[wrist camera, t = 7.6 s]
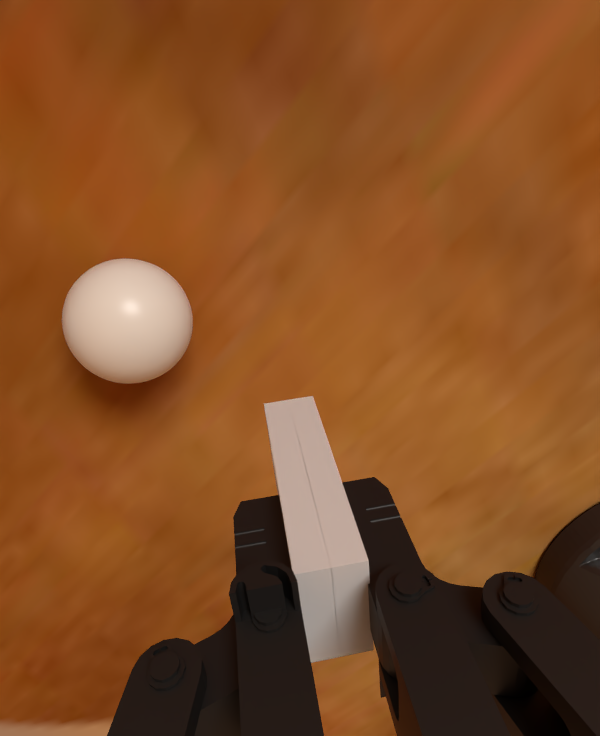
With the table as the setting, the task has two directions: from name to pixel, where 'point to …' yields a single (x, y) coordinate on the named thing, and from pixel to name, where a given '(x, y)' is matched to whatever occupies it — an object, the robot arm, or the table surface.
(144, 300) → the cue ball
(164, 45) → the table surface
